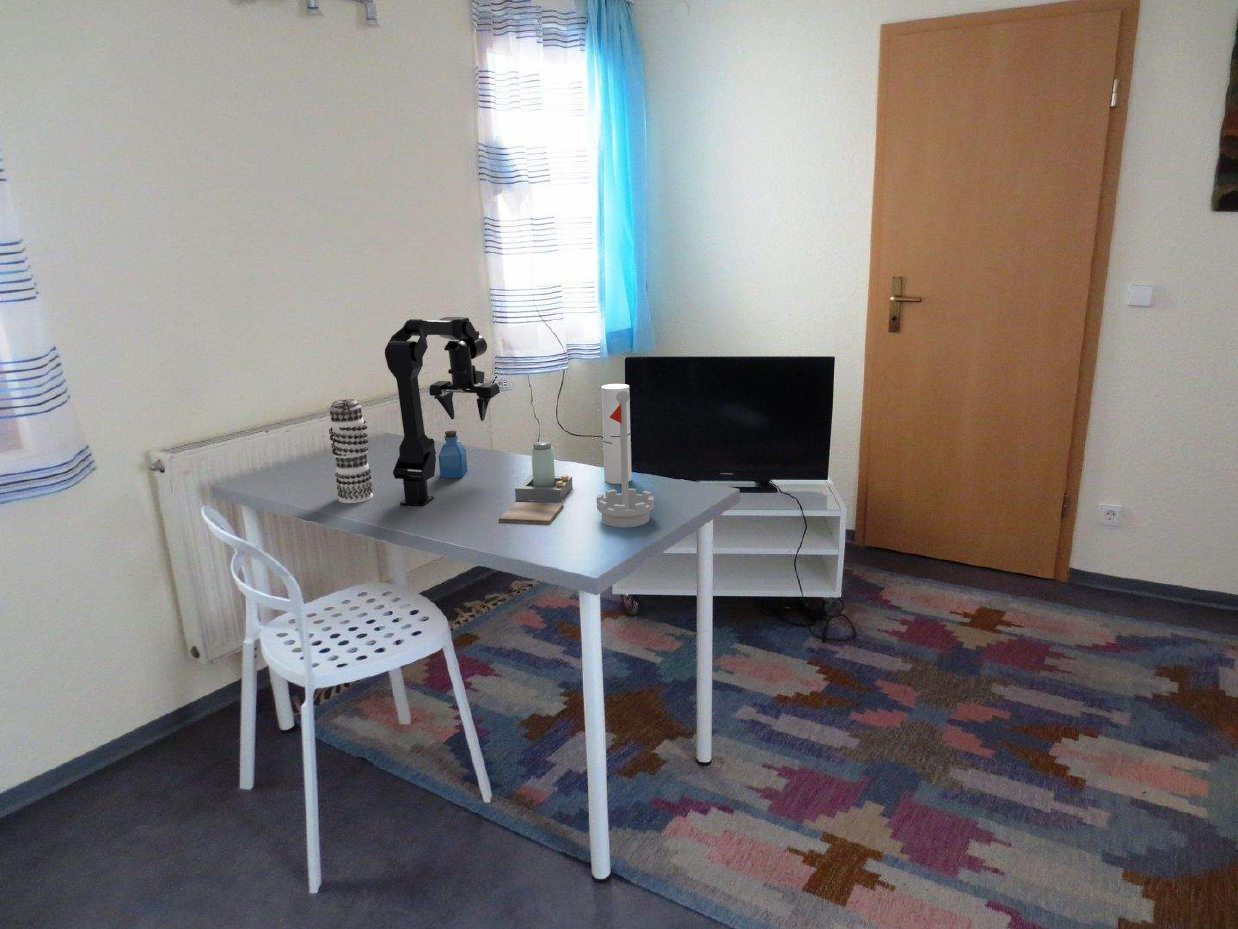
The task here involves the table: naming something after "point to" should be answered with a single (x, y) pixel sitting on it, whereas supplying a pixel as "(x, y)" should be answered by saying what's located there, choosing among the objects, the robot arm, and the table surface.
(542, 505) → the walnut pad
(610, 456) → the cylindrical container
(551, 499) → the grey square tray
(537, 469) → the grey-lidded mint jar
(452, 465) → the perfume bottle
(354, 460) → the decorative candle
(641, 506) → the flag stand
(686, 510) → the table surface
